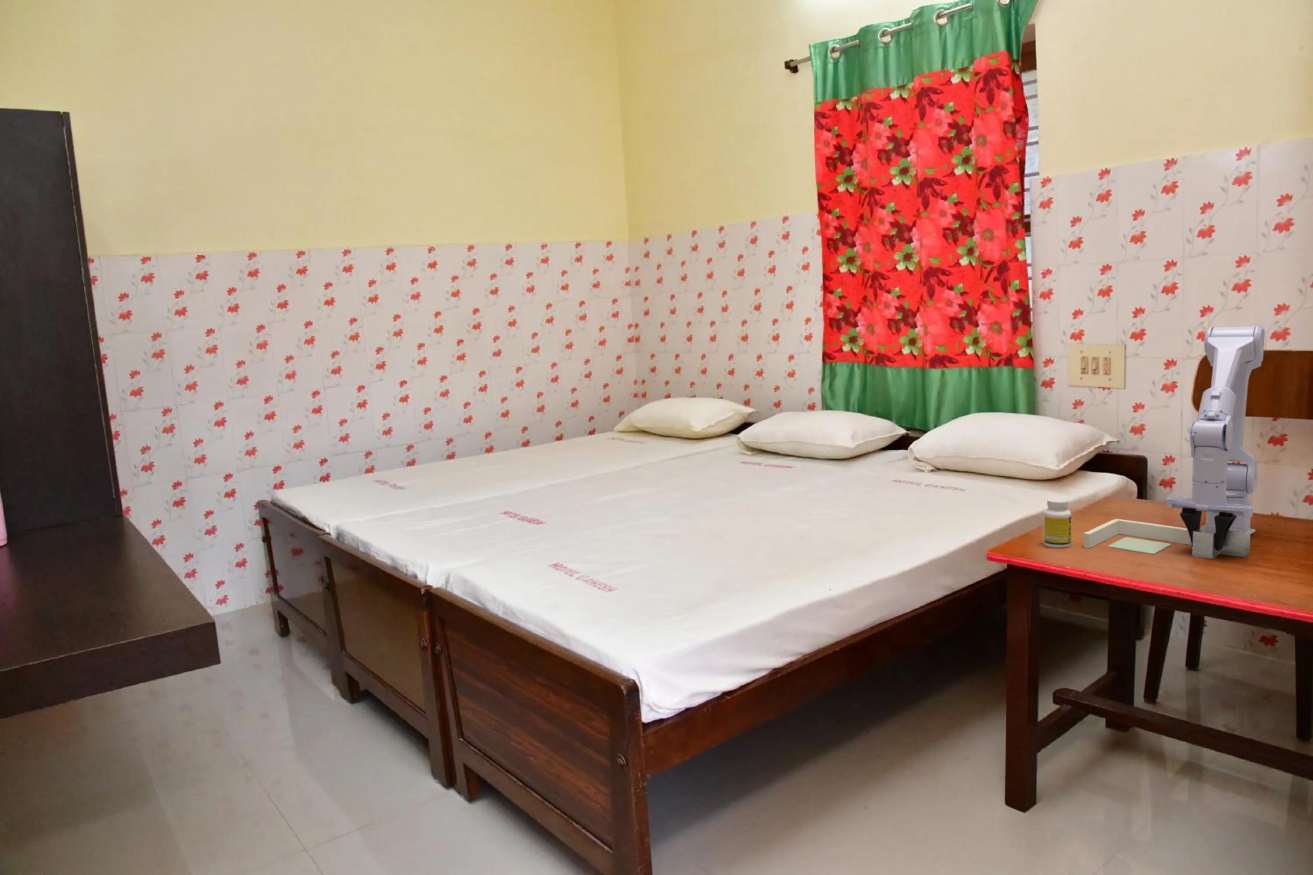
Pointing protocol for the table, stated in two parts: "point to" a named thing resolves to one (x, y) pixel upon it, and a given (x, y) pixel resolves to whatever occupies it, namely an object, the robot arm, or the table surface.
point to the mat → (1139, 545)
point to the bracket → (1233, 544)
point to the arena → (1135, 532)
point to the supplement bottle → (1057, 524)
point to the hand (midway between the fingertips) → (1206, 547)
